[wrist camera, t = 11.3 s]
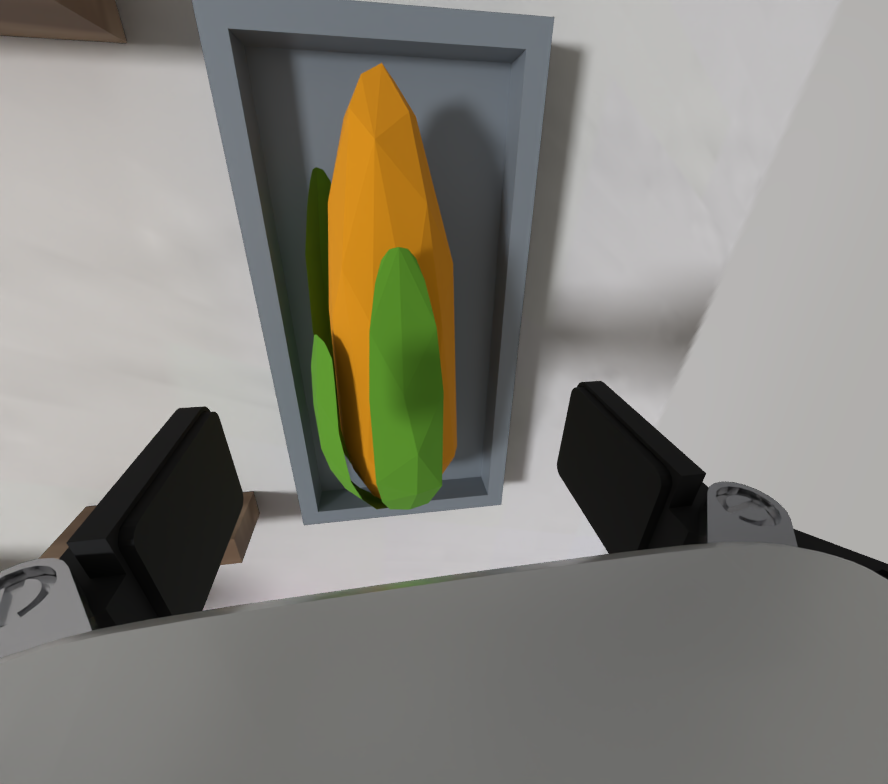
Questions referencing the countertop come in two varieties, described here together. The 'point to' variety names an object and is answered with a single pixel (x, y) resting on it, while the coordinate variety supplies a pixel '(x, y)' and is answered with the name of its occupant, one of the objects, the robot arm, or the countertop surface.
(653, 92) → the countertop surface
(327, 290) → the corn
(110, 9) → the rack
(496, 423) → the tray
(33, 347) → the countertop surface
